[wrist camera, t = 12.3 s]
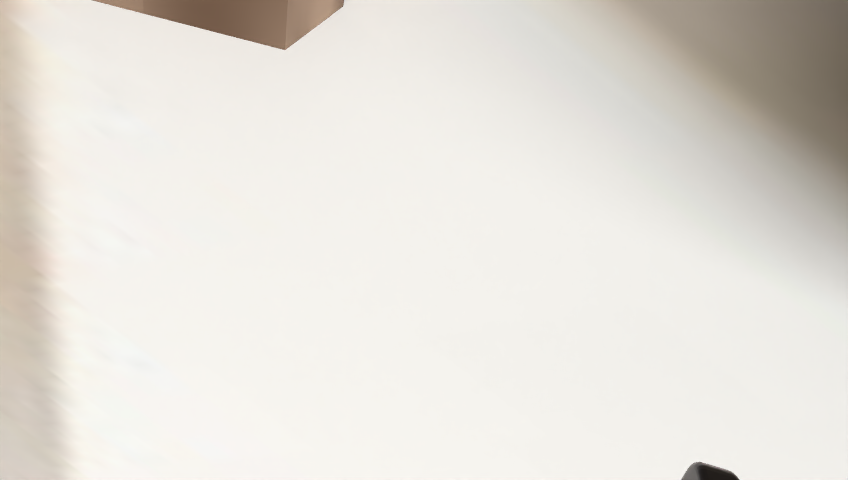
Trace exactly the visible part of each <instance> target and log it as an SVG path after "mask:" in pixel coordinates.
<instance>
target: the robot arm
mask: <svg viewBox="0 0 848 480" xmlns="http://www.w3.org/2000/svg"><path fill="white" fill-rule="evenodd" d="M681 480H739V479H738V477H737V476H736V475H735V474H734V473H732V472H731V471H729V470H725V469H722V468H719V467H715V466H712V465H709V464H706V463H702V462H696V463H693V464H692V465H691V466H690V467H689V468H688V469H687V471H686V473H685V474H684V476H683V478H682V479H681Z"/></svg>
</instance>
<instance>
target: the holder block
mask: <svg viewBox="0 0 848 480" xmlns="http://www.w3.org/2000/svg"><path fill="white" fill-rule="evenodd" d="M93 1H97V2H101V3H105V4H109V5H113V6H117V7H120V8H124V9H128V10H132V11H136V12H140V13H144V14H148V15H151V16H155V17H159V18H163V19H167V20H171V21H175V22H178V23H182V24H186V25H190V26H194V27H198V28H202V29H206V30H209V31H213V32H217V33H221V34H225V35H229V36H233V37H237V38H240V39H244V40H248V41H252V42H256V43H260V44H264V45H268V46H271V47H275V48H279V49H283V50H286V49H287V48H288V47H290V46H291V45H292V44H294V43H295V42H296V41H298V40H299V39H300V38H302V37H303V36H304V35H306V34H307V33H308V32H310V31H311V30H312V29H314V28H315V27H316V26H318V25H319V24H320V23H322V22H323V21H324V20H326V19H327V18H328V17H329V16H331V15H332V14H333V13H335V12H336V11H337V10H339V9H340V8H341V7H343V3H344V0H93Z"/></svg>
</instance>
